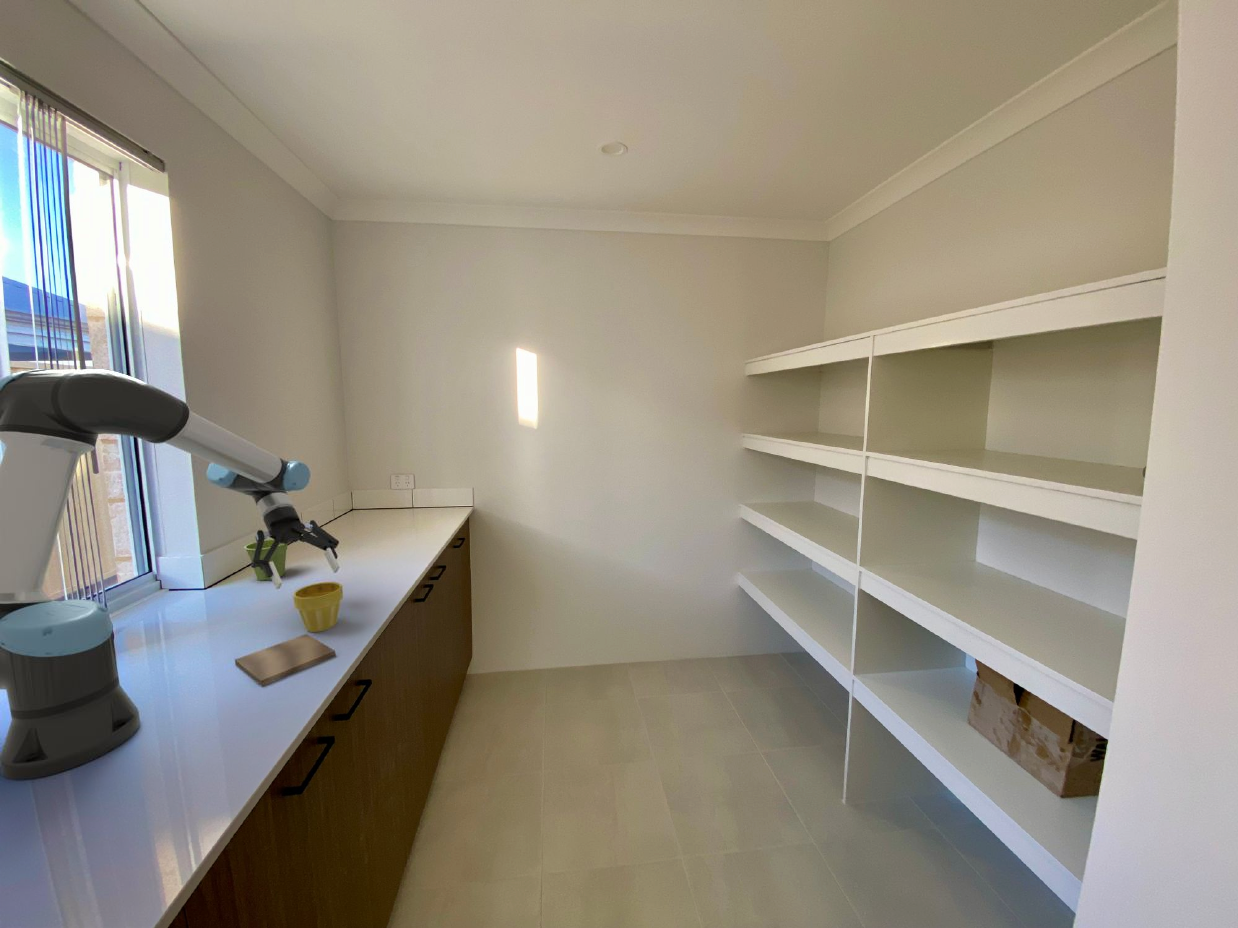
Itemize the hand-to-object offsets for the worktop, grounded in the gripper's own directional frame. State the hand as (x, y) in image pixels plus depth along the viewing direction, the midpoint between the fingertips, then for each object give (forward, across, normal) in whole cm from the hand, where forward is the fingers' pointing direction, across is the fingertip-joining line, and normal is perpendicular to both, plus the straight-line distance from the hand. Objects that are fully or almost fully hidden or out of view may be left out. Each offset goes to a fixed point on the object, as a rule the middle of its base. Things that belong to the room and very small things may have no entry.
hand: (309, 577), depth 124 cm
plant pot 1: (-23, -6, -39) cm, 46 cm away
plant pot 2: (+13, +1, -3) cm, 13 cm away
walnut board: (+20, +13, +5) cm, 25 cm away
